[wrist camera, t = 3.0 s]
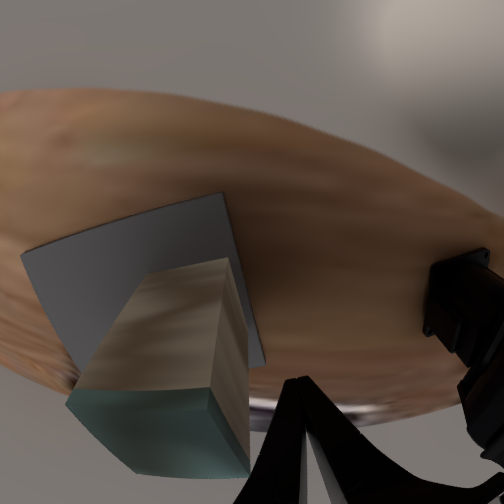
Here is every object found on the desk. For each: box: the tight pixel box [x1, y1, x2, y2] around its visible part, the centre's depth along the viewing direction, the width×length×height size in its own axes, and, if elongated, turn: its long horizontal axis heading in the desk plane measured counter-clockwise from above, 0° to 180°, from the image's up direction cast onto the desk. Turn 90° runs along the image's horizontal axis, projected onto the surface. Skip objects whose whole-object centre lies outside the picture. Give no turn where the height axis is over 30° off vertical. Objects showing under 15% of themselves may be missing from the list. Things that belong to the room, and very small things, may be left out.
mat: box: [20, 192, 266, 373], centre depth 17 cm, size 16×12×1 cm
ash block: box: [65, 257, 250, 479], centre depth 12 cm, size 5×5×10 cm
